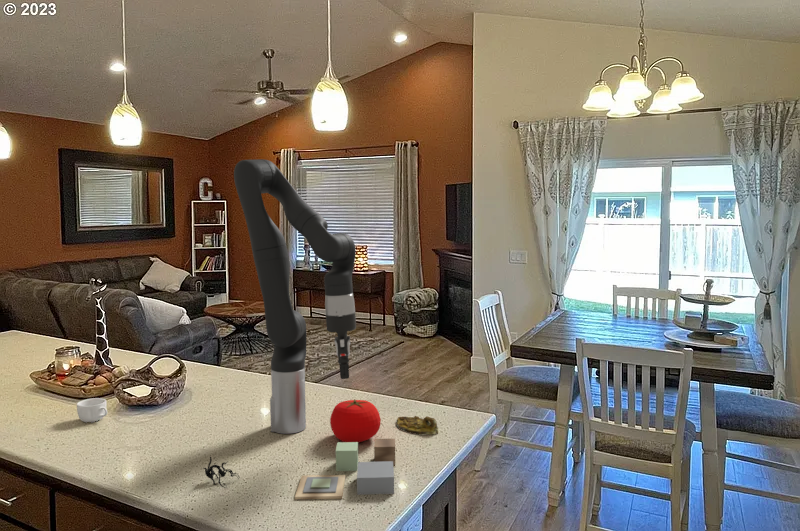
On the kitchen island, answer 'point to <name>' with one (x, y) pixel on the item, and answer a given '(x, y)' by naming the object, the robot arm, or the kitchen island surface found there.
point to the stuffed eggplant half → (418, 425)
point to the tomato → (355, 420)
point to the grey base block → (375, 477)
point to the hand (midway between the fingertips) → (344, 374)
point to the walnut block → (384, 450)
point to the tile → (321, 487)
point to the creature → (218, 472)
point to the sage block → (347, 456)
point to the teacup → (92, 409)
